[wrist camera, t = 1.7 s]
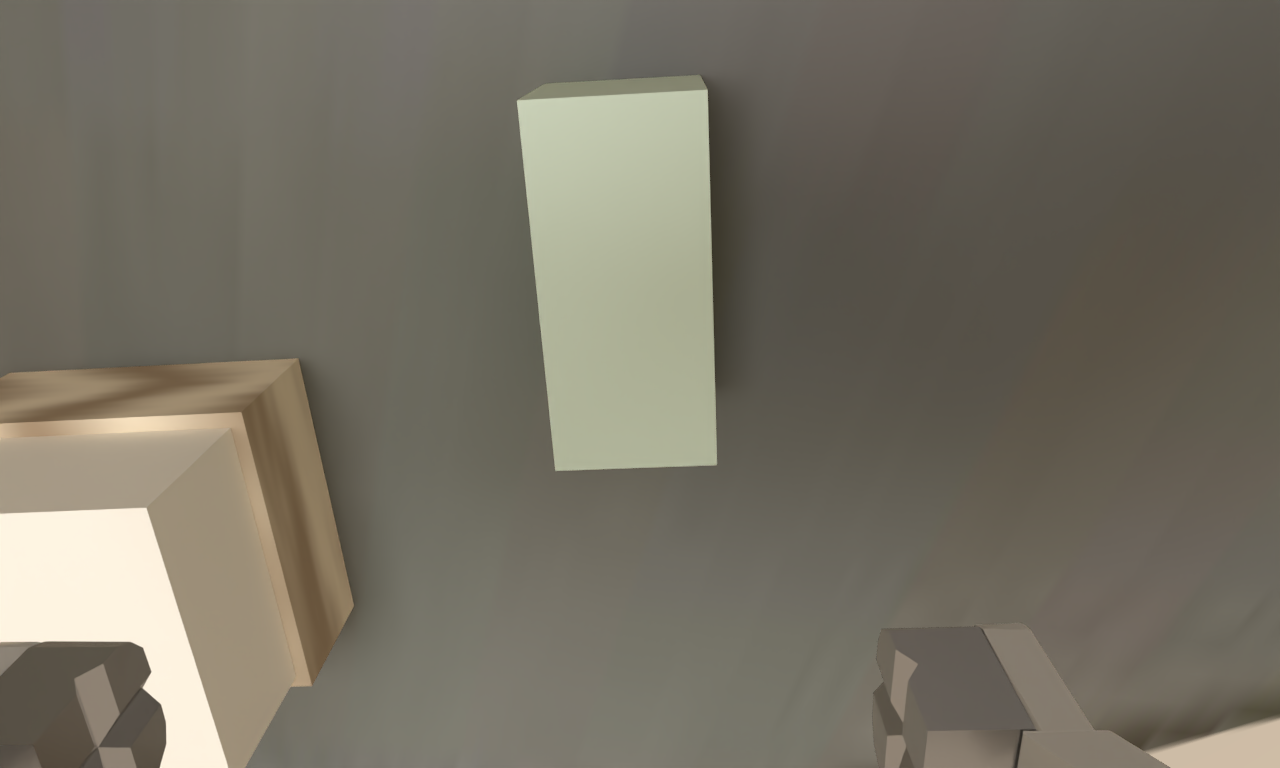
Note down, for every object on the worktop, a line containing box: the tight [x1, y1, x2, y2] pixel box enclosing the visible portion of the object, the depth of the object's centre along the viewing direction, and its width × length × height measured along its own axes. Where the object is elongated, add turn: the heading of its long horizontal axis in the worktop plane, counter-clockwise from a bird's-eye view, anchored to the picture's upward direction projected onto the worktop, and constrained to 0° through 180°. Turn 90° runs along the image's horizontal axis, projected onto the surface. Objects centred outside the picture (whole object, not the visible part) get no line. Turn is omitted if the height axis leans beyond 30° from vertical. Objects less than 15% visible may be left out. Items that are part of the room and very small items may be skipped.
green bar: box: [517, 75, 717, 471], centre depth 28 cm, size 5×11×6 cm, turn 3°
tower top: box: [0, 428, 296, 768], centre depth 28 cm, size 10×10×5 cm
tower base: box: [0, 358, 354, 687], centre depth 33 cm, size 11×11×5 cm
